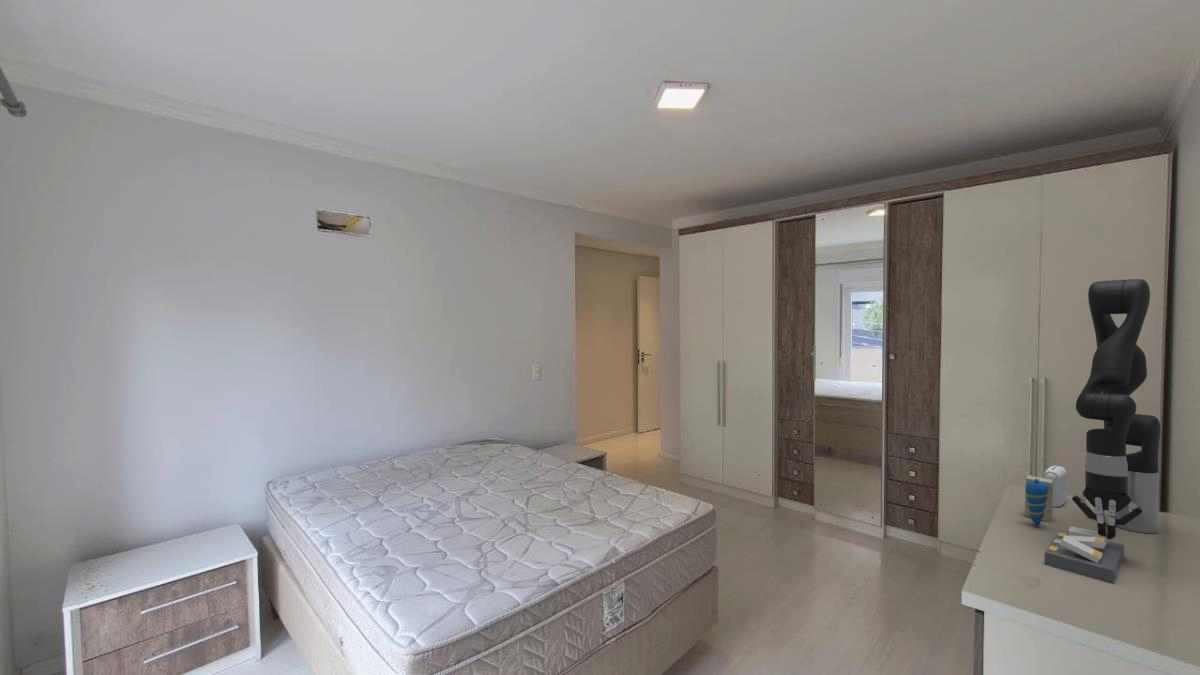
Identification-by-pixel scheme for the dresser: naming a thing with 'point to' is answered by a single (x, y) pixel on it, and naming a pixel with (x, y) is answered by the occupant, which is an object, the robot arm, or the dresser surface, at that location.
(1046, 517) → the skincare box
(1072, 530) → the rocker inner
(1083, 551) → the rocker outer
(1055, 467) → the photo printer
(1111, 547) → the switch unit
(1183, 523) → the dresser surface
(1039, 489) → the ornament
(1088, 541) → the rocker middle
